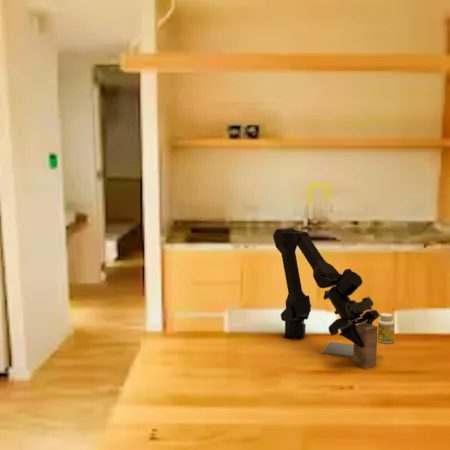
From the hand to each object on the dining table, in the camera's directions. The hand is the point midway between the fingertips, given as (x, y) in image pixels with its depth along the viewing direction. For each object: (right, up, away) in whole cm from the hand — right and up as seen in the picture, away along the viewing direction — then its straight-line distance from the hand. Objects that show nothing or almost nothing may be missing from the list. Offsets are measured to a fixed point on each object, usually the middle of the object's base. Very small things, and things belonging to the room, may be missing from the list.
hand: (368, 345), depth 182 cm
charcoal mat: (-5, -5, +15) cm, 16 cm away
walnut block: (-1, -6, +2) cm, 7 cm away
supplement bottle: (+12, -4, +24) cm, 27 cm away
